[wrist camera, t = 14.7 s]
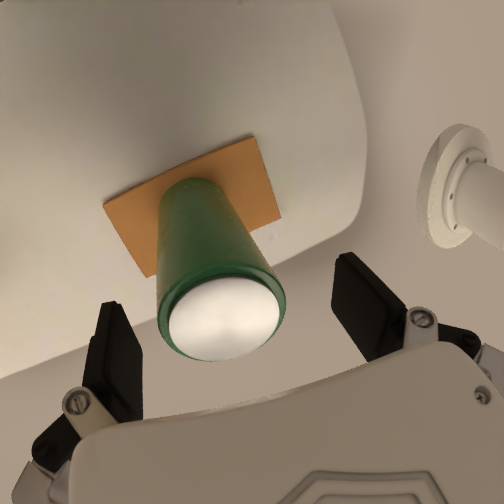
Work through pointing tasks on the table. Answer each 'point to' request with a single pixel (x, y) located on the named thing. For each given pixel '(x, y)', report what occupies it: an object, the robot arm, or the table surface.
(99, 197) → the table surface
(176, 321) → the green can
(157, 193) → the mat
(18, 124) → the table surface
